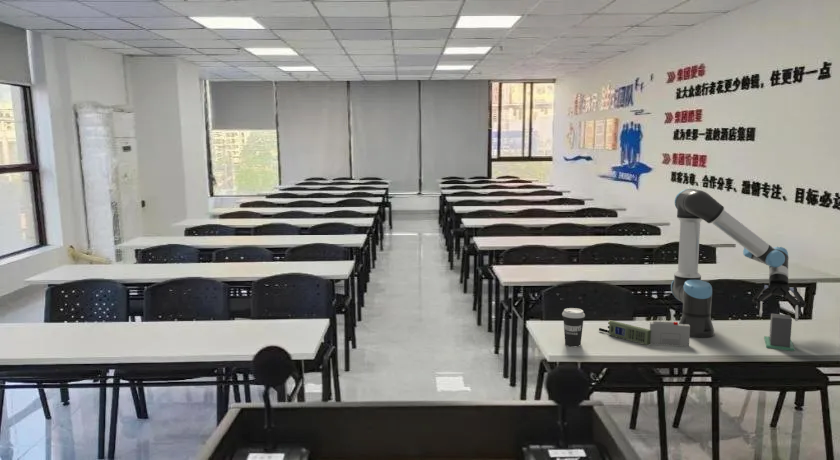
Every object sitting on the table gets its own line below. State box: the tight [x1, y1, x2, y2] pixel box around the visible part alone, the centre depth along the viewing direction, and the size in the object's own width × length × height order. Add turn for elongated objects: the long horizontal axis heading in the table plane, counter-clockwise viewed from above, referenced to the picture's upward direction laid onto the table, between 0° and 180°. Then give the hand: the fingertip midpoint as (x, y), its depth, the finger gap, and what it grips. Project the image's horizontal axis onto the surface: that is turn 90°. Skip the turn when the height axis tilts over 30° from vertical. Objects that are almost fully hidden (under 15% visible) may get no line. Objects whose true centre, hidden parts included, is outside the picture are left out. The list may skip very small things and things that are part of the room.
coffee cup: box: [561, 307, 586, 347], centre depth 257 cm, size 10×10×15 cm
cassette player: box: [649, 320, 691, 348], centre depth 256 cm, size 16×3×10 cm, turn 76°
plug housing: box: [768, 313, 793, 347], centre depth 252 cm, size 7×7×12 cm
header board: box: [763, 335, 795, 352], centre depth 255 cm, size 10×14×4 cm
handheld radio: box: [598, 319, 651, 346], centre depth 266 cm, size 7×3×25 cm
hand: (778, 317), depth 261 cm, fingers open, 13 cm apart
